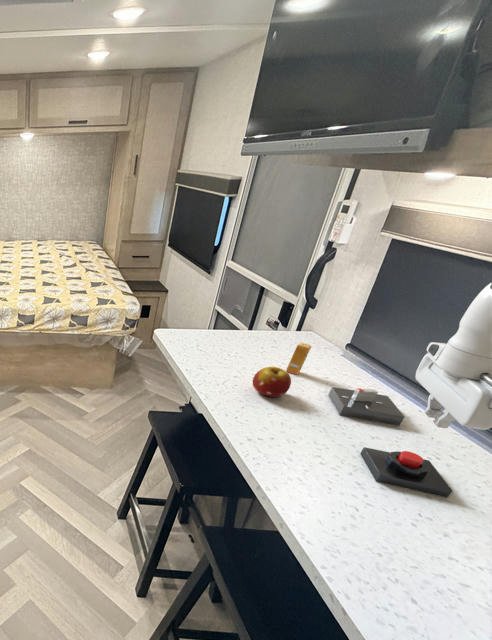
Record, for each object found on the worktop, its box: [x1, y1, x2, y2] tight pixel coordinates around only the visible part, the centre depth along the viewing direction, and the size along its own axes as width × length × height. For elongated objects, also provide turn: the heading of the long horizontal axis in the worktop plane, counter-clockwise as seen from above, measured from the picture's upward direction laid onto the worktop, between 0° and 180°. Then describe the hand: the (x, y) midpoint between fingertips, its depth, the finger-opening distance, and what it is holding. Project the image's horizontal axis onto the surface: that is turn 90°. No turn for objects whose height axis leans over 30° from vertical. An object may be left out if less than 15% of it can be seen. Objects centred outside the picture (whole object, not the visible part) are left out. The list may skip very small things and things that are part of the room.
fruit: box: [252, 366, 292, 398], centre depth 118 cm, size 10×9×8 cm
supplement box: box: [285, 342, 312, 376], centre depth 129 cm, size 3×3×10 cm
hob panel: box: [327, 386, 406, 427], centre depth 111 cm, size 13×11×3 cm
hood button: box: [398, 450, 424, 468], centre depth 88 cm, size 4×4×2 cm
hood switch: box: [359, 446, 453, 499], centre depth 89 cm, size 12×10×4 cm
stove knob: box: [351, 387, 379, 402], centre depth 110 cm, size 5×1×3 cm, turn 84°
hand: (435, 420), depth 83 cm, fingers closed
